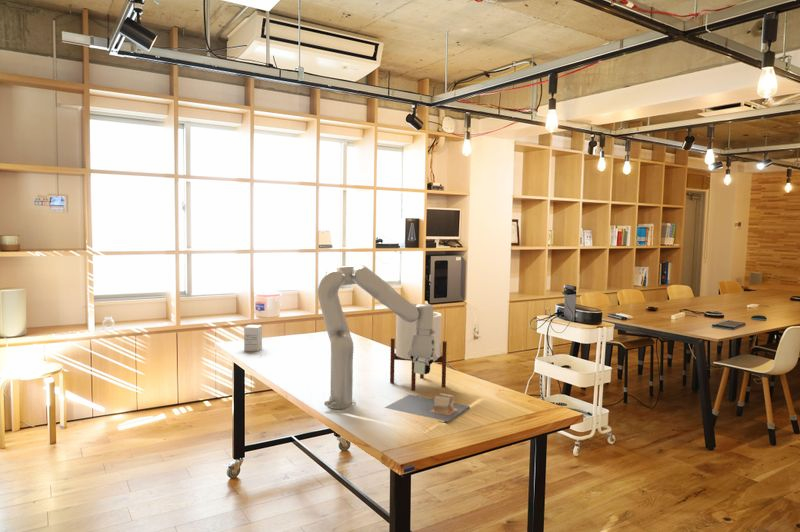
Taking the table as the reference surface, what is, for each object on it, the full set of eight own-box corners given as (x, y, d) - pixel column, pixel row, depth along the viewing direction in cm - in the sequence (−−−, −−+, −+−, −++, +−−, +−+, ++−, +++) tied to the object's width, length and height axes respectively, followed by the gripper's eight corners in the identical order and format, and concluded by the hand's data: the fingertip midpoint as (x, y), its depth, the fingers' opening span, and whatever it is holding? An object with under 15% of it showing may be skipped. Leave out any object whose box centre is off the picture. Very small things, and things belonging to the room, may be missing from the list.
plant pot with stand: (412, 394, 256) (413, 318, 254) (386, 382, 275) (387, 312, 272) (449, 387, 269) (451, 315, 266) (422, 376, 287) (424, 309, 285)
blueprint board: (447, 423, 218) (447, 421, 218) (384, 409, 233) (384, 407, 233) (469, 408, 237) (469, 406, 237) (409, 396, 252) (409, 394, 252)
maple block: (447, 413, 227) (447, 399, 227) (434, 410, 230) (434, 396, 230) (453, 409, 232) (453, 395, 232) (440, 406, 235) (440, 393, 235)
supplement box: (248, 347, 347) (248, 324, 346) (262, 348, 347) (262, 324, 346) (243, 351, 338) (243, 327, 337) (258, 351, 338) (258, 327, 337)
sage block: (423, 374, 240) (424, 363, 240) (413, 372, 242) (414, 361, 242) (428, 372, 244) (429, 361, 244) (419, 370, 247) (419, 359, 246)
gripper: (444, 333, 241) (442, 374, 242) (411, 328, 250) (408, 367, 251) (437, 335, 235) (434, 377, 236) (402, 330, 243) (400, 370, 244)
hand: (421, 371), depth 243 cm, fingers closed on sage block, 4 cm apart
